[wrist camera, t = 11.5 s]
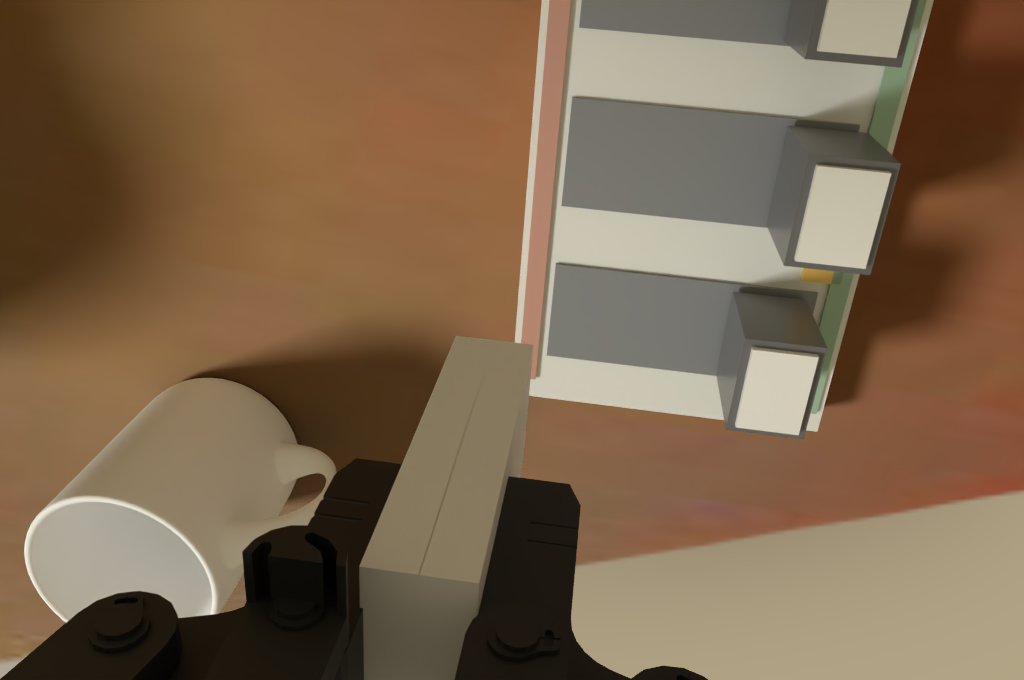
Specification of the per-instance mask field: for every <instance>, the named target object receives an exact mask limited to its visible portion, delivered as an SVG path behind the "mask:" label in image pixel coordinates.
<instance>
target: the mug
mask: <svg viewBox="0 0 1024 680" xmlns="http://www.w3.org/2000/svg"><path fill="white" fill-rule="evenodd" d="M315 473H320V474H323V475H324V476H325V478H326V484H325V487H324V489H323V491H322V492H321V493H320V494H319V495H318V497H317V498H315V499H314V500H313V501H312V502H310V503H309V504H307V505H305V506H304V507H302V508H300V509H298V510H296V511H294V512H291V513H288V514H286V515H283V516H279V517H277V516H278V514H279V513H280V511H281V509H282V508H283V506H284V504H285V503H286V501H287V499H288V498H289V496H290V494H291V492H292V490H293V487H294V485H295V482H296V479H298V478H300V477H303V476H306V475H310V474H315ZM335 474H336V467H335V465H334V463H333V461H332V460H331V459H330V457H328V456H327V455H326V454H325V453H323V452H322V451H320V450H317V449H315V448H312V447H309V446H304V445H298V444H297V441H296V438H295V435H294V433H293V431H292V429H291V427H290V425H289V423H288V422H287V420H286V419H285V417H284V416H283V414H282V413H281V412H280V411H279V410H278V409H277V408H276V407H275V406H274V405H273V404H272V403H271V402H270V401H269V400H268V399H266V398H265V397H263V396H262V395H261V394H259V393H258V392H256V391H254V390H252V389H251V388H249V387H246V386H244V385H242V384H239V383H236V382H233V381H229V380H225V379H219V378H197V379H190V380H186V381H183V382H180V383H178V384H176V385H173V386H171V387H170V388H168V389H166V390H165V391H163V392H162V393H160V394H159V395H158V396H157V397H156V398H155V399H153V400H152V401H151V402H150V403H149V404H148V405H147V406H146V407H145V408H144V409H143V410H142V411H141V412H140V413H139V414H138V415H137V416H136V417H135V418H134V419H133V420H132V421H131V422H130V423H129V424H128V425H127V426H126V427H125V428H124V429H123V430H122V431H121V432H120V433H119V434H118V435H117V436H116V437H115V438H114V439H113V440H112V441H111V442H110V443H109V444H108V445H107V446H106V447H105V448H104V449H103V450H102V451H101V452H100V453H99V454H98V455H97V456H96V457H95V458H94V459H93V460H92V461H91V462H90V463H89V464H88V465H87V466H86V467H85V468H84V469H83V470H82V471H81V472H80V473H79V474H78V475H77V476H76V477H75V478H74V479H73V480H72V481H71V482H70V483H69V484H68V485H67V486H66V487H65V488H64V489H63V490H62V491H61V492H60V493H59V494H58V495H57V496H56V497H55V498H54V499H53V500H52V501H51V502H50V503H49V504H48V505H47V506H46V507H45V508H44V509H43V510H42V511H41V512H40V513H39V514H38V515H37V516H36V518H35V519H34V521H33V522H32V523H31V526H30V528H29V530H28V532H27V536H26V540H25V550H24V554H25V562H26V566H27V570H28V573H29V576H30V578H31V580H32V583H33V584H34V586H35V588H36V590H37V591H38V593H39V594H40V596H41V597H42V598H43V600H44V601H45V602H46V604H47V605H48V606H49V607H50V608H51V609H52V610H53V611H54V612H55V613H56V614H57V615H58V616H59V617H60V618H61V619H62V620H64V621H65V622H66V623H67V622H68V621H69V620H70V619H71V618H72V617H74V616H75V615H76V614H77V613H78V612H80V611H81V610H83V609H84V608H86V607H88V606H89V605H91V604H92V603H94V602H95V601H97V600H100V599H103V598H105V597H108V596H111V595H114V594H117V593H124V592H133V591H143V592H149V593H154V594H159V595H160V596H162V597H163V598H165V599H167V600H168V601H170V602H171V603H172V605H173V607H174V609H175V611H176V613H177V615H178V618H185V617H194V616H203V615H213V614H219V613H220V612H221V610H222V608H223V607H224V605H225V603H226V602H227V600H228V598H229V597H230V595H231V593H232V592H233V590H234V588H235V587H236V585H237V583H238V582H239V580H240V578H241V576H242V575H243V573H244V567H243V556H242V551H243V550H244V549H245V548H246V547H247V546H248V545H249V544H250V543H251V542H252V541H253V540H254V539H255V538H257V537H259V536H261V535H263V534H265V533H267V532H268V531H270V530H274V529H278V528H282V527H286V526H290V525H308V524H309V522H310V520H311V518H312V517H314V512H315V511H316V509H317V507H318V505H319V503H320V501H321V500H323V495H324V494H325V492H326V490H327V488H328V486H329V484H330V482H331V480H332V479H333V477H334V475H335Z"/></svg>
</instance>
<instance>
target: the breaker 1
mask: <svg viewBox="0 0 1024 680" xmlns="http://www.w3.org/2000/svg"><path fill="white" fill-rule="evenodd" d="M827 349H828V348H827V346H826V343H825V341H824V339H823V337H822V334H821V332H820V330H819V328H818V325H817V323H816V321H815V319H814V316H813V314H812V312H811V310H810V307H809V305H808V303H807V301H806V300H803V299H795V298H786V297H777V296H768V295H759V294H750V293H741V292H733V294H732V299H731V304H730V309H729V314H728V319H727V324H726V329H725V334H724V339H723V344H722V349H721V354H720V359H719V364H718V369H717V374H716V377H717V382H718V388H719V394H720V399H721V405H722V411H723V416H724V422H725V428H726V430H733V431H741V432H749V433H757V434H765V435H773V436H781V437H789V438H797V439H804V436H805V432H806V429H807V425H808V421H809V417H810V413H811V410H812V406H813V402H814V398H815V394H816V391H817V387H818V383H819V379H820V375H821V372H822V368H823V364H824V360H825V356H826V353H827Z"/></svg>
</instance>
